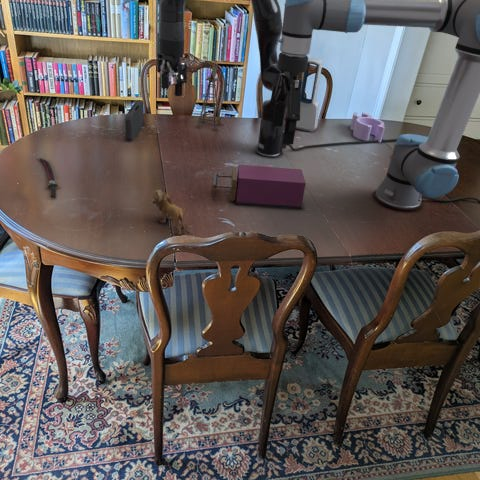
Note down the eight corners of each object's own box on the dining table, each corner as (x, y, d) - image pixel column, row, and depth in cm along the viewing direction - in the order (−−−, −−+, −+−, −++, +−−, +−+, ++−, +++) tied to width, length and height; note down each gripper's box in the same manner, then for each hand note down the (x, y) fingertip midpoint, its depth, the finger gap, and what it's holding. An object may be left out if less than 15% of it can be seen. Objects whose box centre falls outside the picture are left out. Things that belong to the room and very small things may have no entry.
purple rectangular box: (236, 204, 148) (238, 178, 143) (235, 189, 156) (238, 164, 151) (301, 209, 149) (305, 183, 144) (297, 194, 158) (301, 169, 153)
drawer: (211, 199, 147) (213, 178, 143) (212, 186, 155) (213, 166, 151) (291, 204, 149) (295, 184, 145) (288, 191, 157) (291, 172, 153)
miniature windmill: (215, 130, 202) (220, 57, 186) (196, 127, 203) (199, 55, 187) (220, 124, 209) (225, 53, 193) (202, 121, 210) (205, 51, 194)
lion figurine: (148, 218, 136) (147, 190, 131) (161, 212, 139) (161, 185, 134) (183, 238, 128) (184, 210, 123) (197, 232, 132) (198, 204, 127)
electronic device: (317, 128, 217) (329, 60, 200) (313, 133, 211) (326, 64, 194) (291, 123, 219) (301, 56, 203) (287, 127, 213) (297, 59, 197)
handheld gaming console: (137, 122, 202) (137, 99, 196) (144, 122, 202) (143, 99, 196) (124, 141, 182) (123, 116, 177) (131, 141, 182) (131, 116, 177)
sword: (61, 197, 141) (61, 193, 140) (50, 198, 139) (50, 194, 139) (49, 160, 164) (48, 156, 163) (39, 160, 163) (39, 157, 162)
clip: (343, 126, 223) (346, 112, 219) (367, 127, 225) (371, 113, 221) (360, 142, 206) (364, 127, 202) (386, 142, 209) (390, 127, 205)
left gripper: (195, 41, 136) (193, 97, 145) (171, 32, 145) (170, 84, 154) (172, 42, 132) (172, 99, 141) (149, 32, 141) (150, 86, 150)
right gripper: (270, 42, 127) (261, 118, 139) (290, 64, 107) (278, 151, 118) (296, 44, 128) (285, 119, 140) (322, 66, 108) (306, 152, 119)
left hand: (171, 91), depth 147 cm, fingers open, 8 cm apart
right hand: (282, 134), depth 129 cm, fingers open, 13 cm apart
